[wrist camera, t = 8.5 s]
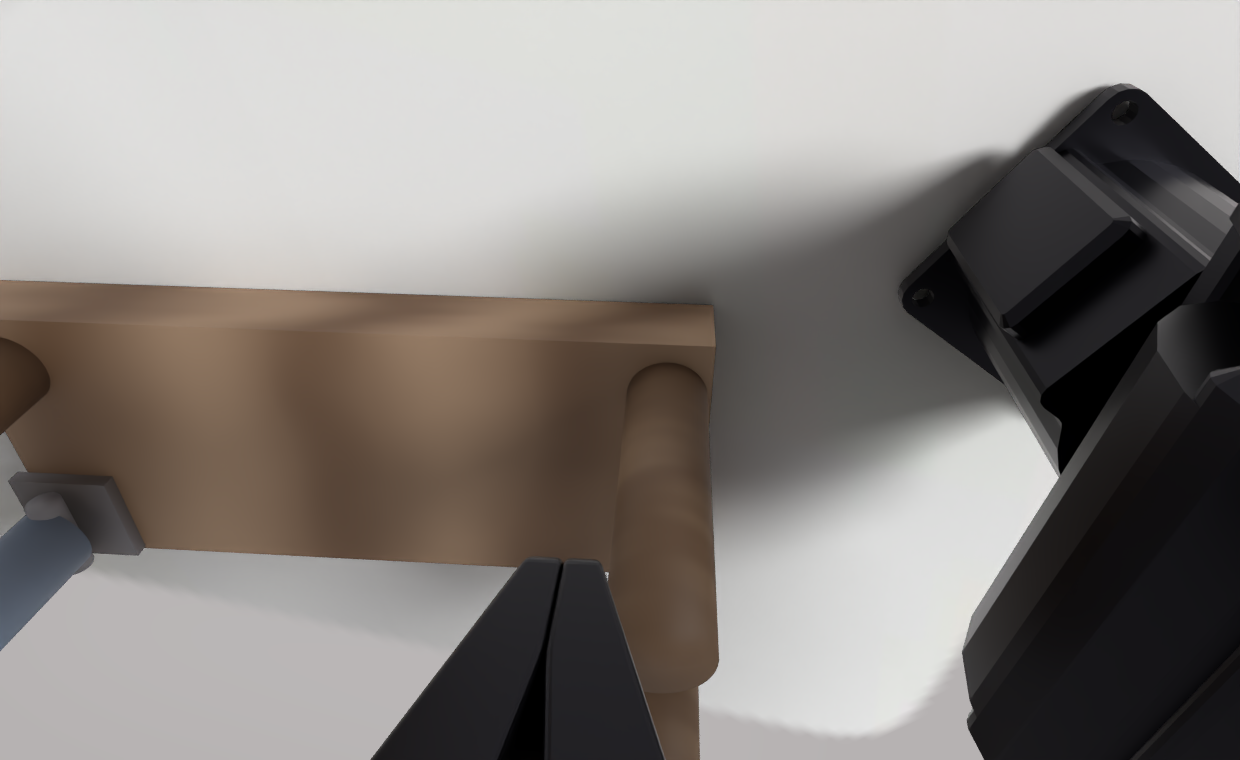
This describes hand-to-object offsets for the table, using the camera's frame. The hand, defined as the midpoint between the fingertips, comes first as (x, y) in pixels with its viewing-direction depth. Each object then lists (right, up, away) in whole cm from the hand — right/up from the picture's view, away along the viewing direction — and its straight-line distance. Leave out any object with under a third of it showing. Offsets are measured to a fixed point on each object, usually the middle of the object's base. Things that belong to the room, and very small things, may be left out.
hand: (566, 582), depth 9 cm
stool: (-7, +1, +14) cm, 16 cm away
